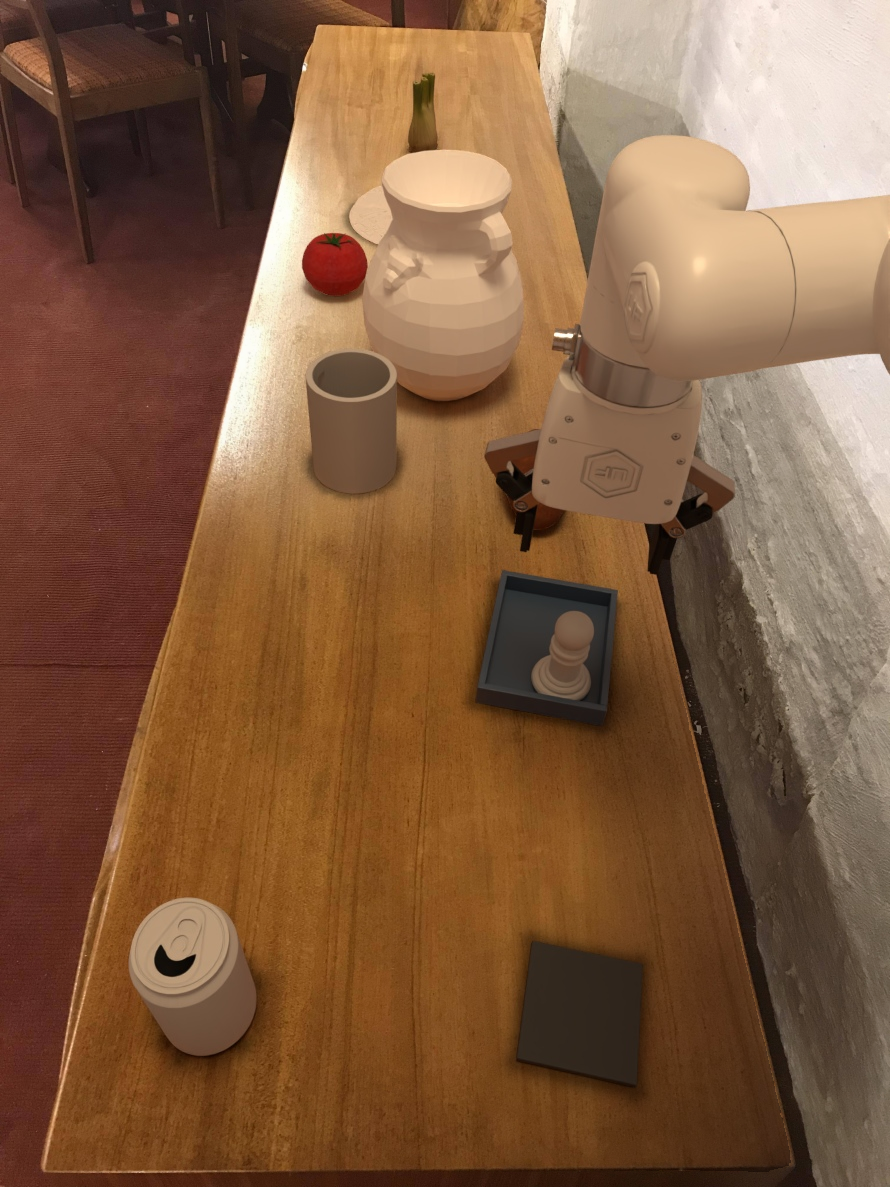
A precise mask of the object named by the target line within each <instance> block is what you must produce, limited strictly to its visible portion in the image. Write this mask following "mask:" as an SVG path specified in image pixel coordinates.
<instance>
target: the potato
mask: <svg viewBox="0 0 890 1187" xmlns="http://www.w3.org/2000/svg"><path fill="white" fill-rule="evenodd" d="M538 429H539V428H533V429H531V430H529V431H528V430H527V432H530V431H534V430H538ZM535 458H536V455H534V456H530V457H526V458H521V459H517V460H512V461H511V462H512V463H513V464H514V465H515V466H516V467H517V468H518V469H519V470H520V471H521V472H522V473H523V474H525V473H527V472H528V471H530V470H531V469H533V468H534V463H535ZM505 495H506V497H507V500H508V502H509V505H510V508H511V510H512V512H513V513H514V514H515V515H516V512H517V510H515V509H514V507H513V503H514V502H513V501H512V500H511V499H510V497H509V496H508V495H507V494H506V493H505ZM564 511H565V510H562V509H557V508H552V507H549V506H546V505H544V504H542V503H539V504H538V506H537V512H536V518H535V523H534V529H533V530H535V531H537V530H546V529H547V528H550V527H552V526H553V525H555V524H556V523H558V521H559V519H560V518H561V517H562V515H563V513H564Z"/></svg>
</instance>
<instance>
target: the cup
mask: <svg viewBox="0 0 890 1187" xmlns="http://www.w3.org/2000/svg"><path fill="white" fill-rule="evenodd" d="M305 385H306V398H307V408H308V420H309V422H308V423H309V431H310V432H309V433H310V444H311V456H312V467H313V473H314V476H315V477H316V479H317V480H318V481H319V482H320V483H321V484H322V485H323V486H325V487H327V488H328V489H330V490H332V491H334V492H338V493H342V494H353V495H357V494H366V493H367V494H368V493H369V492H374V491H377V490H379V489H381V488H383V487H384V486H386V485H388V484H389V482H391V480H393V478H394V476H395V474H396V471H397V446H398V445H397V444H398V443H397V439H398V438H397V435H398V434H397V432H398V431H397V426H398V425H397V424H398V423H397V422H398V420H397V419H398V418H397V417H398V416H397V415H398V414H397V413H398V412H397V410H398V409H397V408H398V407H397V406H398V405H397V404H398V403H397V400H398V398H397V397H398V396H397V395H398V394H397V392H398V390H397V388H398V382H397V373H396V369H395V367H394V366H393V364H392V363H391V362H390V360H388V359H387V358H386V357H384V356H382V355H380V354H378V353H376V352H373V350H369V349H364V348H352V347H350V348H340V349H334V350H330V351H328V352H325V353H322V354H320V355H319V356H317V357H316V358H314V359H313V360H312V361H311V362H310V363H309V365H307V368H306V370H305Z"/></svg>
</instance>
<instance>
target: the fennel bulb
mask: <svg viewBox="0 0 890 1187" xmlns="http://www.w3.org/2000/svg"><path fill="white" fill-rule="evenodd" d="M435 81H436V74H435V73H434V72H422V74H421V77H420V81H418V80H413V81H412V118H411V122H410V125H409V129H408V135H407V142H408V146H409V149H410V151H411V153H416V152H421V151H431V150H438V149H437V148H438V146H439V144H438V141H439V140H438V136H439V135H438V131H437V121H436V111H435V103H434V102H435V100H434V99H435Z"/></svg>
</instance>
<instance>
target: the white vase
mask: <svg viewBox="0 0 890 1187" xmlns="http://www.w3.org/2000/svg"><path fill="white" fill-rule="evenodd" d="M380 181H381V185H382V187H383V191H384V195H385V198H386V200H387V203H388V205H389V207H390V210H391V214H392V218H393V219H392V221H391V224H390V226H389V228H388V230H387V232H386V233H385V235H384V236H383V238H382V239H381V241H380V242H379V244H377V247H376V248H375V251H374V253H373V255H372V258H371V260H370V263H369V265H368V268H367V273H366V276H365V279H364V284H363V293H362V298H361V299H362V300H361V304H362V313H363V325H364V328H365V331H366V335H367V339H368V343H369V345H370V348H371V349H372V351H373V352H376V353H378V354H380V355H382V356H384V357H386V358H387V359H388V360H390V362H391V363H392V364H393V366H394V367H395V369H396V373H397V384H399V385H400V386H401V387H402V388H405V389H407V391H410V392H411V393H413V394H415V395H417V396H419V397H421V398H423V399H426V400H430V401H435V402H449V401H457V400H461V399H463V398H466V397H469V396H471V395H474V394H475V393H476V394H477V392H480V391H482V390H484V389H485V388H487V387H488V386H489V385H490V384H492V382H493V381H495V380H496V379H497V378H498V377H499V376H500V375H502V374H503V373H504V372H505V371H506V370H507V369H508V367H509V365H510V363H511V361H512V359H513V357H514V355H515V352H516V351H517V349H518V347H519V344H520V342H521V339H522V333H523V327H524V323H525V310H524V308H525V305H524V304H525V303H524V301H525V300H524V290H523V280H522V275H521V272H520V269H519V264H518V260H517V257H516V256H515V254H514V253H513V250H512V249H513V246H514V242H513V235H512V231H511V228H509V225H508V223H507V221H506V219H505V218H504V216H503V213H504V211H505V209H506V207H507V205H508V201H509V199H510V195H511V193H512V186H513V179H512V177H511V174H510V173H509V170H508V169H507V168H506V166H504V165H503V164H501V163H500V162H498V160H497V159H494V158H492V157H489V156H487V155H485V154H483V153H478V152H473V151H468V150H461V149H460V150H459V149H436V150H431V151H421V152H416V153H413V152H410V153H407V154H404V155H402V156H400V157H398V158H396V159H394V160H393V161H391V162H390V163H389V164H388V165H387V166H386V167H385V168H384V169H383V172H382V176H381V180H380Z"/></svg>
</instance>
